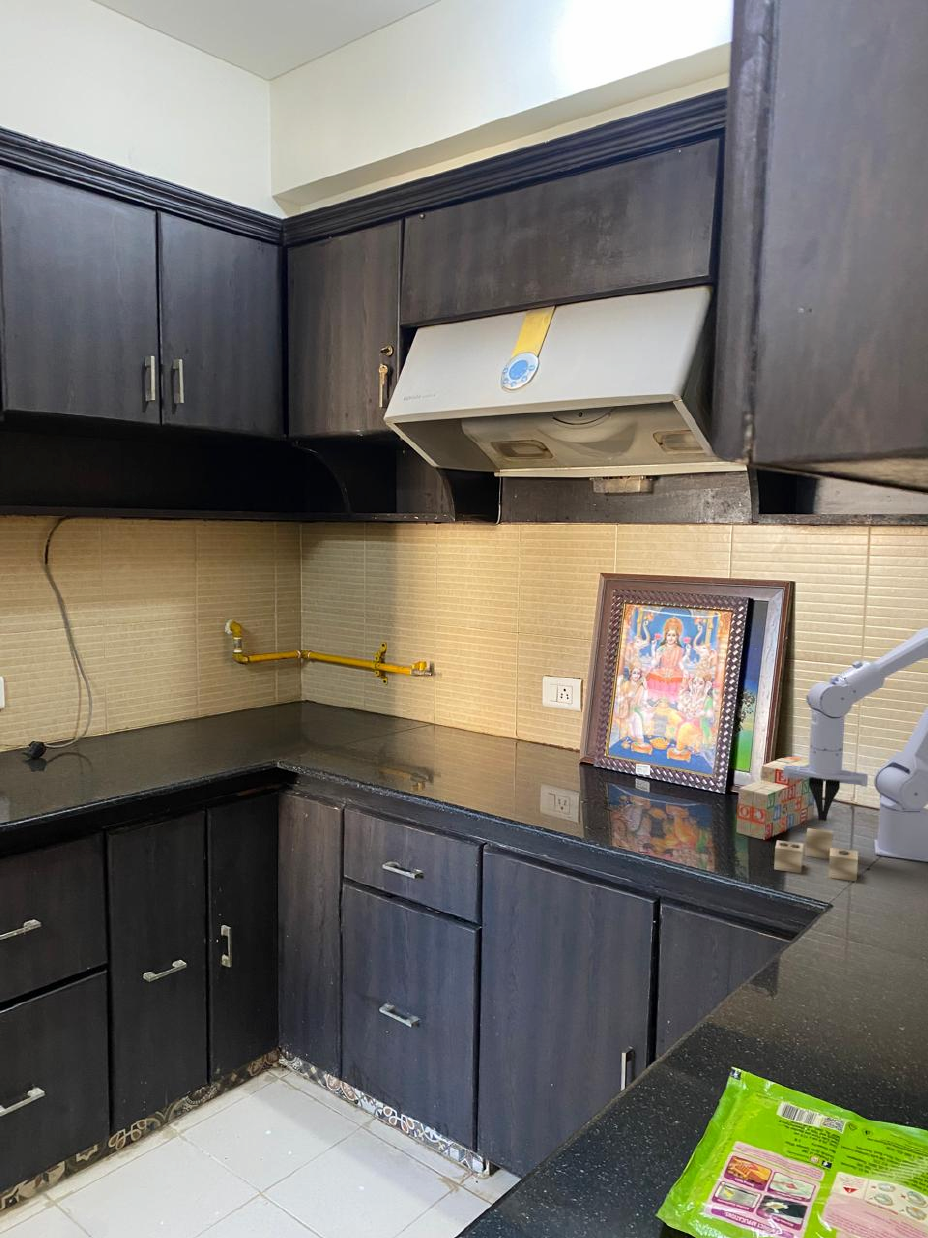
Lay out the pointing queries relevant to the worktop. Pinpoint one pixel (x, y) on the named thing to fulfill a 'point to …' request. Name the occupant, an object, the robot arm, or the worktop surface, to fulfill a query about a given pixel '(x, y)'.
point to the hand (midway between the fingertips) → (822, 819)
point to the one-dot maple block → (843, 864)
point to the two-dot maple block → (788, 856)
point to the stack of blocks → (774, 801)
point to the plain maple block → (818, 843)
